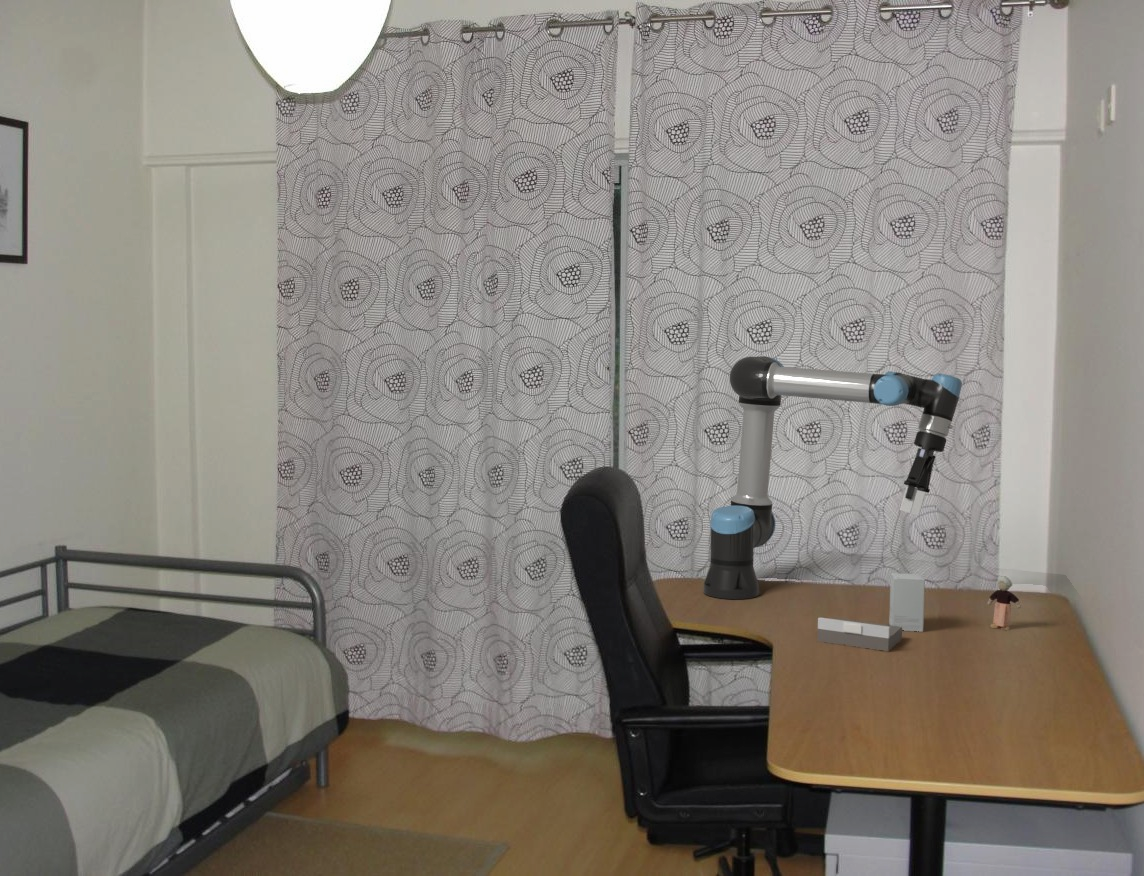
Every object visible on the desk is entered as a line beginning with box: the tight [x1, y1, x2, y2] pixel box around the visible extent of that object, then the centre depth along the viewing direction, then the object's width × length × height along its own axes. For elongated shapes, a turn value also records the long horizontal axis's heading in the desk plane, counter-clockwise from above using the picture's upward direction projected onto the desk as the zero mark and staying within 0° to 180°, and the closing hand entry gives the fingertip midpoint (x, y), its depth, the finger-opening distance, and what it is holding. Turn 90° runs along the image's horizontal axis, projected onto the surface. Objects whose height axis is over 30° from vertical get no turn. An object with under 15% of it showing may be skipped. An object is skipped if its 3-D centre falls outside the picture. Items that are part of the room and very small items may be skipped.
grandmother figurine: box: [987, 575, 1022, 631], centre depth 261 cm, size 8×4×13 cm, turn 62°
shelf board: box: [817, 617, 903, 652], centre depth 248 cm, size 16×12×5 cm
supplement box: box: [888, 572, 926, 633], centre depth 261 cm, size 7×7×13 cm
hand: (909, 513), depth 280 cm, fingers open, 13 cm apart
